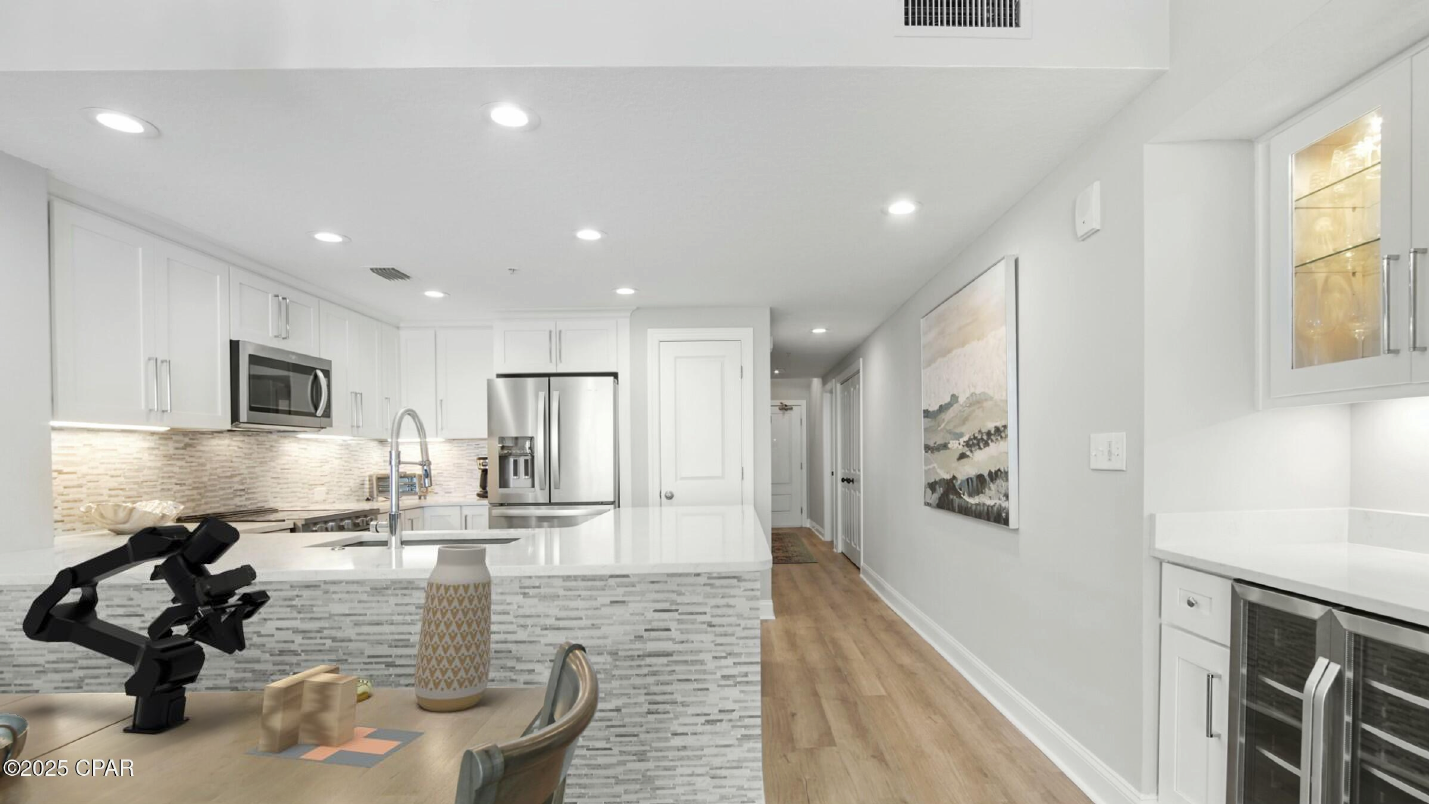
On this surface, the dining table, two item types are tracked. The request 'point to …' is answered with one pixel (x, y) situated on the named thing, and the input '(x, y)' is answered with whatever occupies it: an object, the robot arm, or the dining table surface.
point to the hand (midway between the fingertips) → (238, 651)
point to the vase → (455, 631)
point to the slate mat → (350, 756)
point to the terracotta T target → (354, 745)
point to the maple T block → (309, 710)
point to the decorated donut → (363, 689)
